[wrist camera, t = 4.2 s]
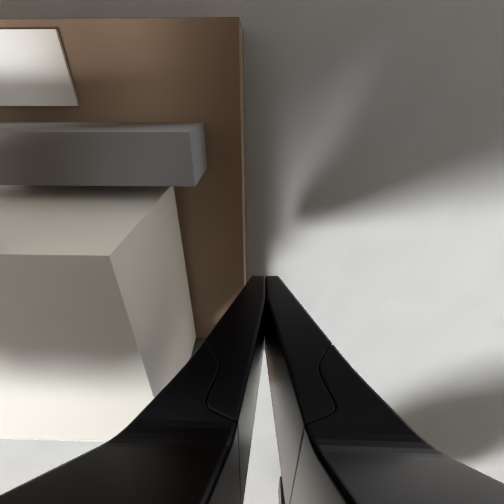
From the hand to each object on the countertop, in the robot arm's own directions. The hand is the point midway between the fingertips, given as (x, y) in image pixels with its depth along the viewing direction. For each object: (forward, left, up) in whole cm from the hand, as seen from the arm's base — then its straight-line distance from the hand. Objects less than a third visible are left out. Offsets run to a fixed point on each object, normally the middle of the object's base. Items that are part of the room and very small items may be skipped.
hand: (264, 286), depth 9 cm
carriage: (+7, -2, -1) cm, 7 cm away
